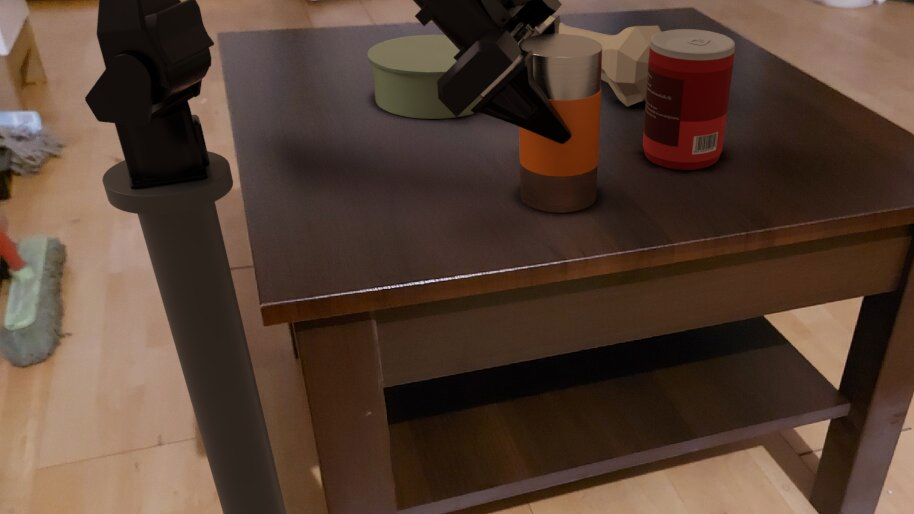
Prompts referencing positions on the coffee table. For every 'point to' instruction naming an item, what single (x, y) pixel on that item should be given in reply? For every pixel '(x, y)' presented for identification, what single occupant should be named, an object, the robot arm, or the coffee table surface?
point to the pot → (413, 75)
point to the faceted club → (622, 58)
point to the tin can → (578, 103)
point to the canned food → (687, 97)
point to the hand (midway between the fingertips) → (575, 124)
